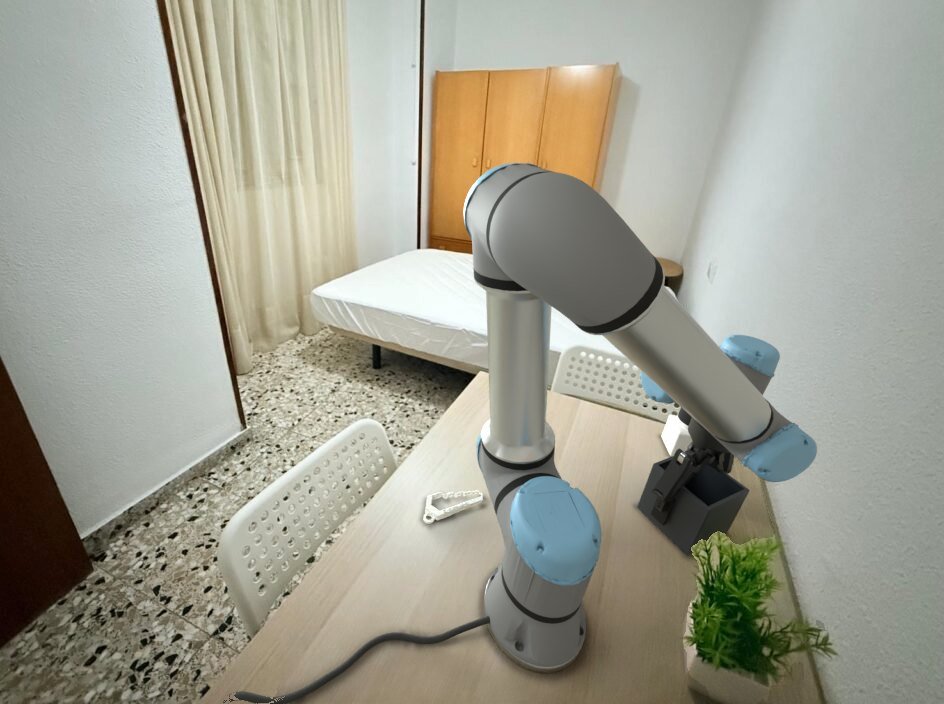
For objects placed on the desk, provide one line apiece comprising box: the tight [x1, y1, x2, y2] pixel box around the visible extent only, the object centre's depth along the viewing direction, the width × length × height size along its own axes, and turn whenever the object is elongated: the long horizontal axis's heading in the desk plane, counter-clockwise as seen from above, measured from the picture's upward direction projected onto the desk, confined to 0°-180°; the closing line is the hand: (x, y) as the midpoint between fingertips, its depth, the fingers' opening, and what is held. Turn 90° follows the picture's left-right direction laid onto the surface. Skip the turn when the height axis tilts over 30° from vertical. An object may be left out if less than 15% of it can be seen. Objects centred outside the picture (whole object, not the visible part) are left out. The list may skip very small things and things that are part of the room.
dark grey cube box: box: [636, 456, 751, 557], centre depth 76 cm, size 12×11×11 cm
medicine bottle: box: [660, 407, 692, 457], centre depth 94 cm, size 7×7×12 cm
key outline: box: [422, 489, 484, 525], centre depth 80 cm, size 13×5×2 cm, turn 114°
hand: (680, 509), depth 78 cm, fingers open, 11 cm apart
